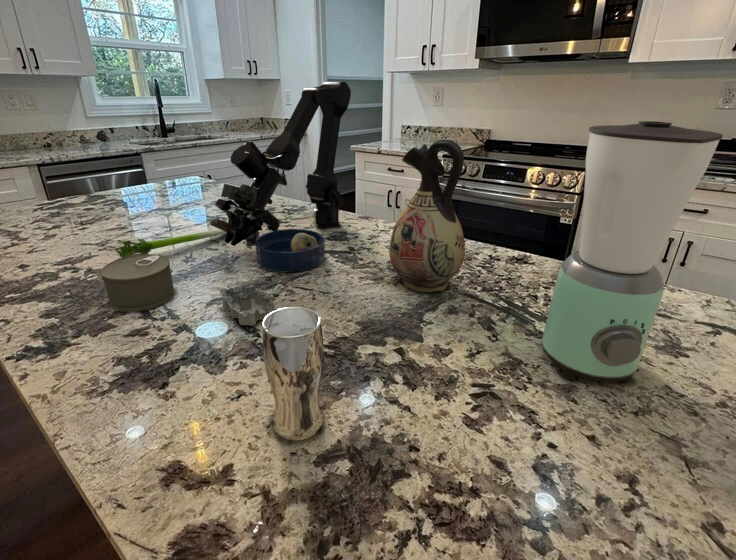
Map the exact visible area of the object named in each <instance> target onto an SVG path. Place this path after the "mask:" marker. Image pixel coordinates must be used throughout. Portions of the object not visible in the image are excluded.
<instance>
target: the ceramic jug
mask: <svg viewBox="0 0 736 560" xmlns="http://www.w3.org/2000/svg"><path fill="white" fill-rule="evenodd" d="M440 152H445V153H448V154H449V156H450V157H451V159H452V160H451V161H452V167H451V170H450V173H449V176H448V179H447V182H446V185H445V187H444V189H442V187H441V184H440V178H439V177H443V176H445V174H446V168H445V167H444V164H443V163H442V162H441V160H440V158H439V155H438V154H439V153H440ZM401 161H402V162H403V163H404V164H406V165H408V166H410V167H412V168H414V169H415V170H416V171H418V172H419V174H420V177H421V181H420V184H419V188H418V189H416V192H415V193H414V195H413V196H412V197H411V198H410V200H409V201H408V202H407V204H406V205H405V207H404V208H403V210H402V212H401V213H400V215H399V216H398V218H397V220H396V222H395V224H394V227H393V229H392V233H391V236H390V241H389V246H388V247H389V248H388V255H389V260H390V263H391V266H392V268H393V269H394V271H395V272H396V273H397V274H398V275H399V277H400V278H401V279H402V283H403V285H404V286H405V287H406V288H408V289H410V290H412V291H416V292H420V293H434V292H440V291H444V290H445V289H447V286H448V284H449V281H450V280H451V279H452V278H454V276H456V275H457V274H458V273H459V271H460V270H461V268H462V266H463V263H464V262H465V261H464V260H465V257H466V242H465V236H464V232H463V228H462V225H461V222H460V220H459V218H458V216H457V214H456V212H455V207H454V202H453V200H452V199H453V195H454V193H455V190H456V187H457V185H458V182H459V180H460V178H461V176H462V172H463V170H464V169H463V167H464V163H465V155H464V151H463V149H462V148H461V146H460V145H459V144H458V143H457V142H455V141H453V140H451V139H439V140H436V141H434V142H433V143H432V144H431V145H430V146H429V148H428V146H427V144H425V143H424V144H422V146H421V147H420V148H417V147H412V148H411V149H409V150H408V151H407V152H406V153H405V155H404V156H403V157H402V159H401Z"/></svg>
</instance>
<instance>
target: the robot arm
mask: <svg viewBox="0 0 736 560" xmlns="http://www.w3.org/2000/svg"><path fill="white" fill-rule="evenodd" d="M351 96H352V90H351V87H350V86H349V85H348V83H347V82H346V81H330V80H329V81H326V80H325V81H324V82H323V83H322V84H320V85H318V86H313V87H306V88H304V89H303V90H302V91H301V97H300V99H299V101H298V102H297V104H296V107H295V108H294V111H293V112H292V114H291V116H290V118H289V120H288V122H287V124H286V126H284V129H283V131H282V132H281V133H280V135H278V136H277V137H275V138H274V139H273V140H272V141H271V143H270V144H269V145H268V147H267V148H266V149H265V150H263V151H261V150H260V149H259V148H258V146H257V145H256V143H254V142H253V141H252V140H251V141H250V140H246V141H245V143H244V144H241V145H240V146H238V147H237V148H236V149H235V150H233V151H232V153H231V155H230V163H231V164H232V165H233V166H234V167H235V168H237V170H239V171H240V172H241V173H242V174H243V176H245V177H246V178H248V179H250V180H252V179H253V180H252V181H251V183H250V185H248V184H242V183H241V185H240V186H236V185H234V184H233V185H232V184H229V183H224V184H223V188H222V191H221V194H220V197H219V198H218V199H217V201H216V202H215V204H214V206H215V207H216V208H217V209H219V210H220V211H222V212H223V213H224V214H225V215H226V216H227V223H228V224H231V225H233V226H235V227H237V228H238V229H237V231H236V233H235V235H232V234H230V233H227V232H226V234H225V237H224V241H223V242H224V243H226V244H230V246H233V247H235V246H237V245H238V244H240V243H242V242H243V241H245V240H244V239H246V238H247V237H249V236H251V235H252V234H254V233H256V232H260V231H261V232H262V231H263V230H264V229H263V227H262V226H263V225H264V224H265V225H266V226H267V227H266V228H267V229H268V230H269V231H270V232H271V231H274V232H276V231H277V230H279V228H280V226H281V220H280V219H279V218H278V217H277V216H275V215H274V214H273V213H272V212H270V210H268V209H265V208H266V207H267V205H272V204H273V202H274V200H272V199H271V198H272V197H273V195H274V193H275V192H276V190H277V188H278V186H279V185H282V186H286V187H287V185H288V181H287V179H286V174H284V173H280V172H279V171H278V170H281V171H286V172H288V171H292V170H294V169H295V167H296V165H297V162H298V160H299V157H300V154H301V148H300V147H301V142H302V140H303V138H304V136H305V134H306V132H307V130H308V128H309V126H310V125H311V123H312V120H313V119H314V116H315V115H316V114H317V111H318V110H319V109H320V111H321V114H322V119H321V127H320V135H319V142H318V151H317V158H316V166H315V169H313V170H314V171H313V172H312V173H307V177H306V178H307V179H306V185H305V188H306V194H307V195H308V198H309V199H310V203H311V204H314V205H315V208H314V209H313V217H314V219H313V220H314V224H315V225H316V226H317V228H318V229H324V228H336V227H338V228H339V227H341V224H340V223H339V222H340V219H339V218H340V217H339V216H340V215H339V212H340V211H339V210H340V209H339V208H341V206H343V205H344V202H345V197H344V196H343V195H342V194H341V193H340V192H339V190H338V179H337V177H336V173H335V164H336V156H337V148H338V140H339V133H340V126H341V120H342V117H343V116H344V114H345V113H346V111H347V110H348V108H349V105H350V101H351Z"/></svg>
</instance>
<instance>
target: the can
mask: <svg viewBox="0 0 736 560" xmlns="http://www.w3.org/2000/svg"><path fill="white" fill-rule="evenodd" d="M100 276H101V278H102V281H103V283H104V287H105V290H106V293H107V296H108V300H109V304H110V307H111V308H112V309H114V310H115V311H118V312H124V313H134V312H136V313H137V312H142V311H149V310H151V309H154V308H158V307H159V306H163V305H164V304H166V303H167V302H169V301H170V300H171V299H172V298H173V297H174V296H175V288H174V282H173V277H172V272H171V261H170V258H168V257H167V256H165V255H162V254H155V253H148V254H142V255H140V254H135V255H134V254H133V255H132V256H129V257H126V256H125V258H122V257H120V258H118V259H116V260H113V261H111V262H109V263H107V264H105V265H104V266H103V267H102V268H101V269H100Z"/></svg>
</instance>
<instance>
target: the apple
mask: <svg viewBox="0 0 736 560" xmlns="http://www.w3.org/2000/svg"><path fill="white" fill-rule="evenodd" d="M315 246H317V241H316V239H315V238H314V237H312V236H310V235H308V234H305V233H298V234H296V235H295V236H294V237H293V239H292V241H291V250H292V252H295V251H302V250H307V249H310V248H313V247H315Z"/></svg>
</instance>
